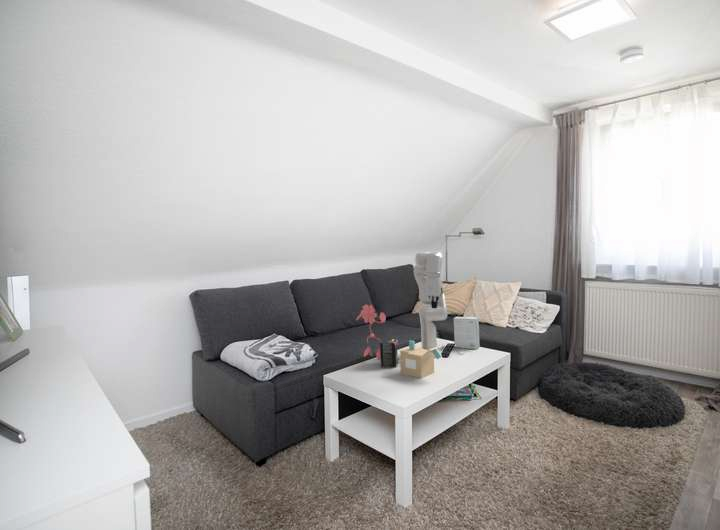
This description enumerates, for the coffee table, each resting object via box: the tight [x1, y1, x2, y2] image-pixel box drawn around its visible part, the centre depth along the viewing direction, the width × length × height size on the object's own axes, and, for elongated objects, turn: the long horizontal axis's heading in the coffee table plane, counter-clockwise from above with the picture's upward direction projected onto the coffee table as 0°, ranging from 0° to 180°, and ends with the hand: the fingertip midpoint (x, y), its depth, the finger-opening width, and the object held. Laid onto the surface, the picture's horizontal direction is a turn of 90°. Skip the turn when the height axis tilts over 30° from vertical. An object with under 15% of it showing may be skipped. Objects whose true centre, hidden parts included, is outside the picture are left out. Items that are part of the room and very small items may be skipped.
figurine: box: [355, 303, 387, 364], centre depth 256 cm, size 15×26×35 cm, turn 46°
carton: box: [399, 340, 435, 379], centre depth 228 cm, size 12×15×17 cm
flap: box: [423, 345, 443, 360], centre depth 219 cm, size 11×6×5 cm
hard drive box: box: [453, 316, 481, 350], centre depth 278 cm, size 16×8×20 cm, turn 60°
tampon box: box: [379, 338, 399, 368], centre depth 245 cm, size 11×9×15 cm
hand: (434, 308), depth 231 cm, fingers closed
